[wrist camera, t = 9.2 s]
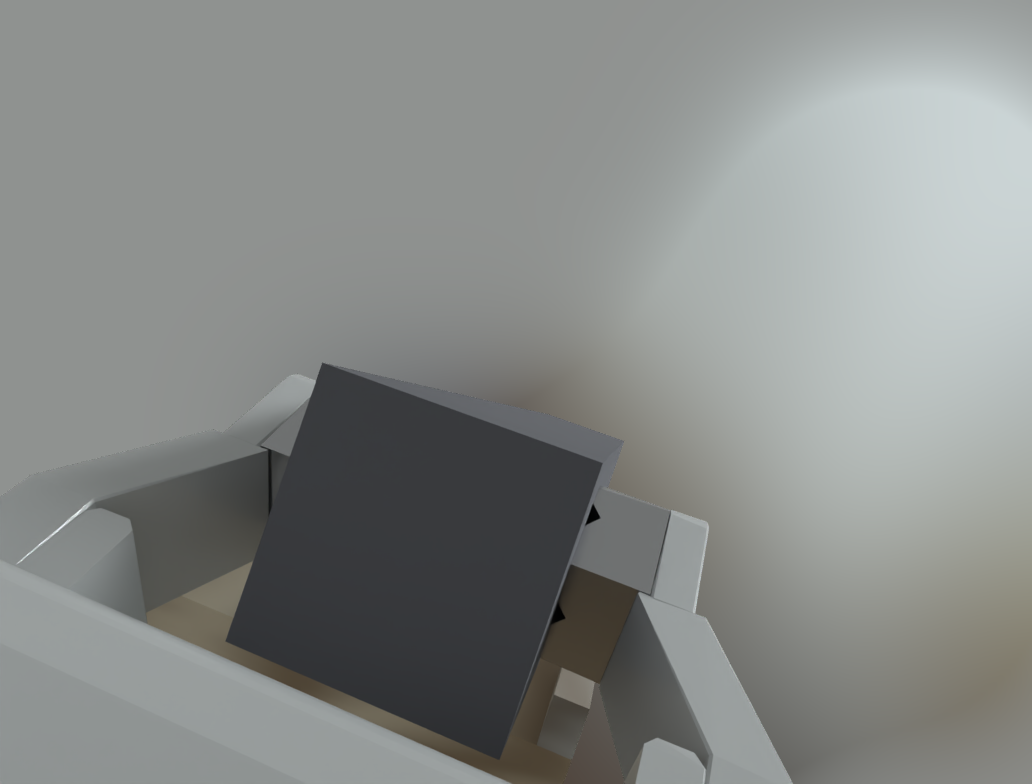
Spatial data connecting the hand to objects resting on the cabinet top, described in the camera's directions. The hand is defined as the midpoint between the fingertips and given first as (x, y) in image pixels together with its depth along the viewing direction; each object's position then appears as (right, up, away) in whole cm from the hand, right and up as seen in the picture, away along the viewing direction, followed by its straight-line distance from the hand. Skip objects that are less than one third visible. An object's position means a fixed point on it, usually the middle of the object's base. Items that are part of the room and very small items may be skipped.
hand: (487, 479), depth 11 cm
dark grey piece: (0, -2, +7) cm, 8 cm away
